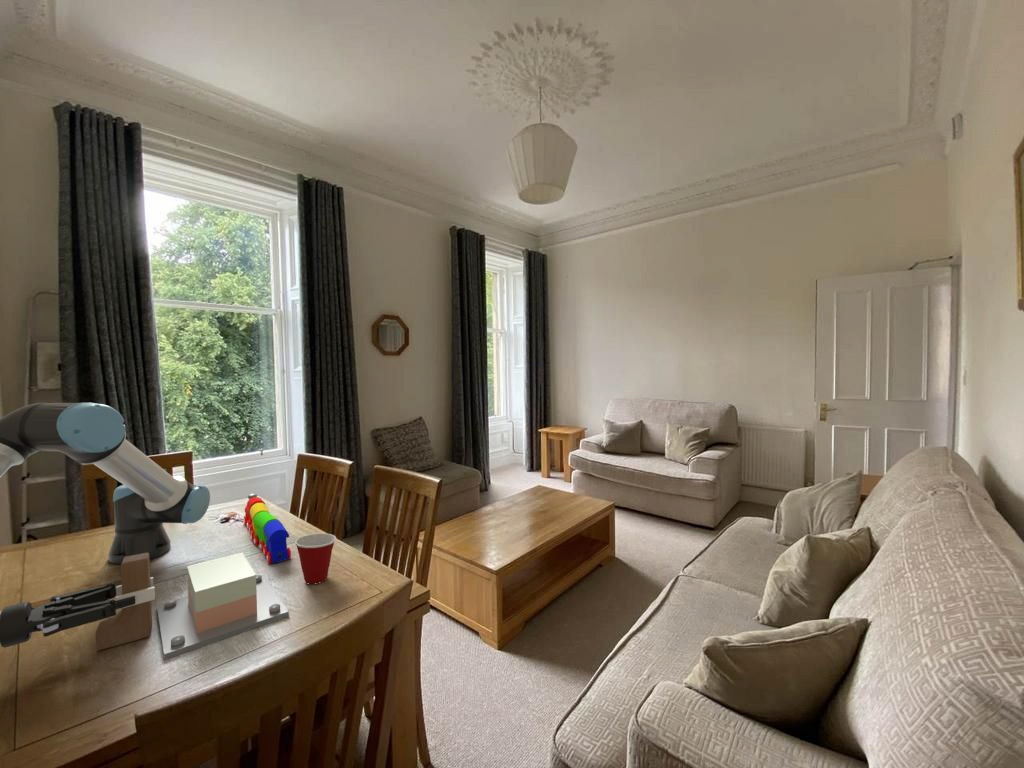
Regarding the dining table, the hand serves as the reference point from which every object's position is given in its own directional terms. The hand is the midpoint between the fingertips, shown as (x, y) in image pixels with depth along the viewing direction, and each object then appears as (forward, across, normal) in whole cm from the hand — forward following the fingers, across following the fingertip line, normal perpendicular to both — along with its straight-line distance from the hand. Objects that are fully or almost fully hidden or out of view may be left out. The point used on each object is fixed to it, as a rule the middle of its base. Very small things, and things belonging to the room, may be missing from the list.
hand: (153, 587), depth 102 cm
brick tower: (+13, +2, -10) cm, 16 cm away
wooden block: (-5, 0, -10) cm, 11 cm away
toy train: (+31, -40, -11) cm, 51 cm away
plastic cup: (+36, 0, -10) cm, 37 cm away
